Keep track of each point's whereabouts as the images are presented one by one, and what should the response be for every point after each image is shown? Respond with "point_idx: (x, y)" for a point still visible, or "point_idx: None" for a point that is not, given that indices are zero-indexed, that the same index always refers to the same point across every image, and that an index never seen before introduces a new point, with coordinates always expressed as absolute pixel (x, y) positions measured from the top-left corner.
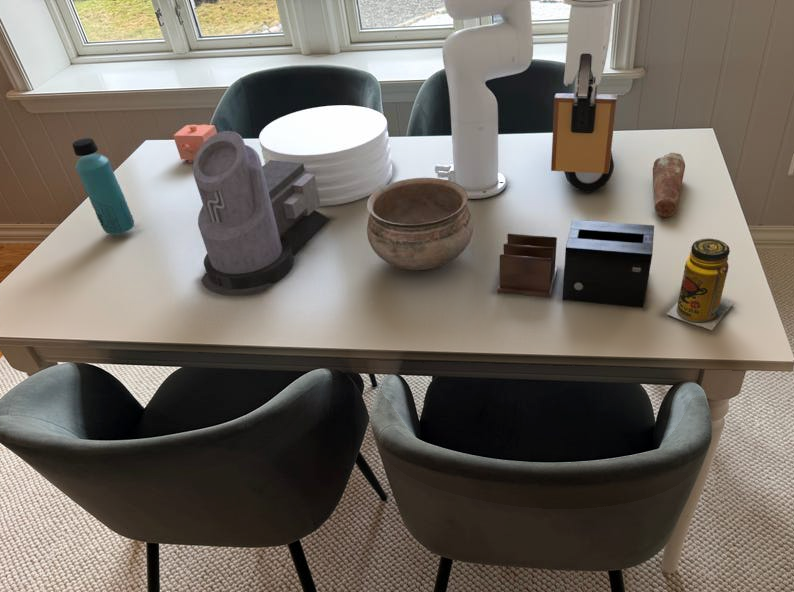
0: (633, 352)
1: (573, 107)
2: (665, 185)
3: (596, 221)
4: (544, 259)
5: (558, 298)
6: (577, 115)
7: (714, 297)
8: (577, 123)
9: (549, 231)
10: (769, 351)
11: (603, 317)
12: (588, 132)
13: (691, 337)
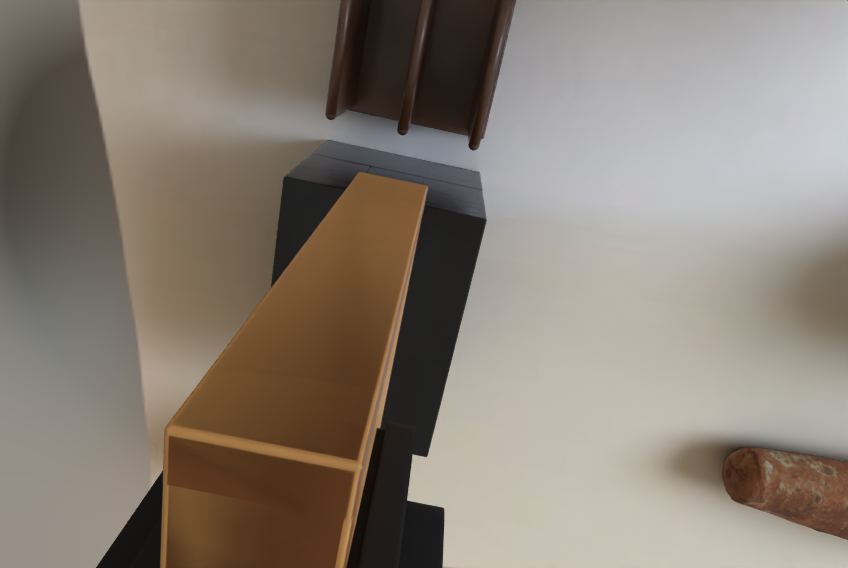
0: (129, 285)
1: (144, 551)
2: (838, 509)
3: (463, 299)
4: (329, 95)
5: (336, 129)
6: (125, 530)
7: None
8: (161, 480)
9: (730, 128)
10: None
11: (256, 239)
12: None
13: None
